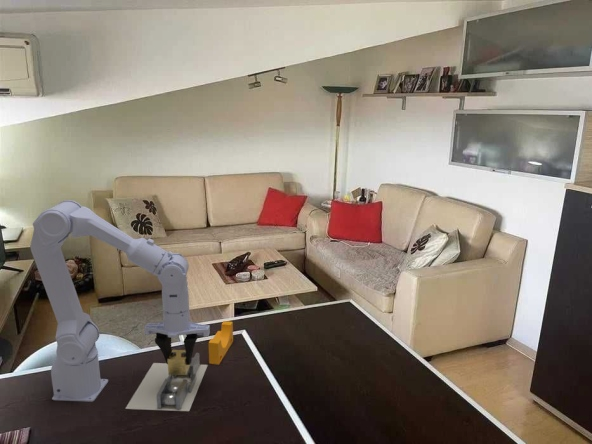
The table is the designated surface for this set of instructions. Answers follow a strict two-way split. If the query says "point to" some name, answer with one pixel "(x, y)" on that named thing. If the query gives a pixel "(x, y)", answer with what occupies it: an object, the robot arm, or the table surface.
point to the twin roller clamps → (177, 387)
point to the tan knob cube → (177, 363)
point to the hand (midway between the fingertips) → (179, 362)
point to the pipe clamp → (221, 343)
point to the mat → (152, 384)
